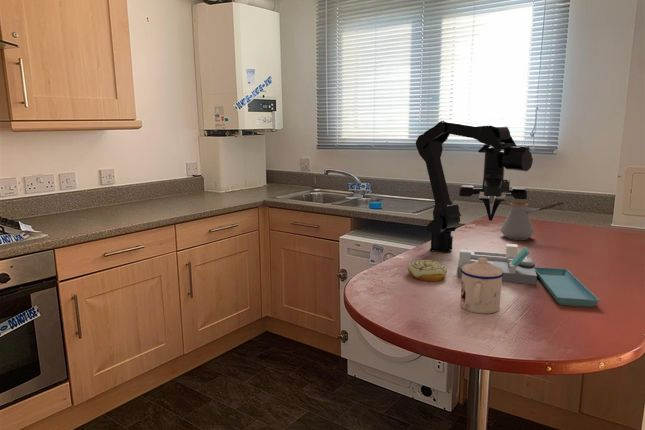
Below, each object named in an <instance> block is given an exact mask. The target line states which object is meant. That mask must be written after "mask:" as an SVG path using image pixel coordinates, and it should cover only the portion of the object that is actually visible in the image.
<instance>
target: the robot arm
mask: <svg viewBox="0 0 645 430" xmlns="http://www.w3.org/2000/svg"><path fill="white" fill-rule="evenodd" d="M450 135H453V136H459V137H464V138H470V139H474V140H476V141H478V142H479V143H481V144H483V145H482V147H481V148H480V149H478V153H480V154H481V153H482V154H483V153H484V159H483V160H484V162H483V177H482V178H483V179H482V186H481V187H482V188H480V187H479V188H478V187H474V185H468V184H467V185H466V184H462V185H461V186H460V187H459V190H458V191H459V193H458V195H459V196H458V197H467V198H469V197H472V196H473V195H478V200H479V201H482V203H483V205H484V207H485V210H486V214H487V218H488V221H489V222H490V221H491V222H492V221H493V219H494V216H495V214H496V212H497V210H498V208H499V206H500V204H501V203H502V202H505V201H506V197H513V199H514V200H527V197H528V191H527V188H525V187H519V186H518V187H516V186H513V187H511V189H510V183H511V182H510V179H504V177H505V170H507V171H517V172H518V171H520V172H528V171H530V169H531V167H532V165H533V162H534V159H533V156H532V153H531V151H530V146H517V144H516V142H515V141H514V139H513V137H512V136H511V131H510V129H509V127H508V126H506V125H475V124H468V123H461V122H456V121H452V120H440V121H438V122H437V123H436V124H435V125H434V126H432V127H431V128H429V129H427V130H426V131H425V132H424V133H422V134H420V135H418V137H417V139H416V140H415V146H416V149H417V153H418V155H419V156H420V157H421V159H422V160H423V161H424V162H425V166H426V170H427V174H428V178H429V183H430V187H431V192H432V194H433V195H432V196H433V200H434V206H433V211H432V218H433V219H432V220H431V221H430V222H429V223H428V224H427V225H426V230H427V233H430V248H429V251H431V252H439V253H440V252H441V253H442V252H443V253H450V252H451V250H453V242H454V241H453V239H454V236H453V235H452V232H456V229H457V227H458V225H459V223H461V217H462V214H461V212H460V208H459V204H456V203H455V204H454V203H453V202H452V200H451V199H450V194H449V189H448V185H447V181H446V177H445V173H444V172H445V171H444V168H443V164H442V160H441V157H442V154H443V153H442V152H443V144H444V143H445V142H446V141H447V140H448V138H449V136H450ZM490 197H494V199H493V202H492V206H491V199H490Z"/></svg>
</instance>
